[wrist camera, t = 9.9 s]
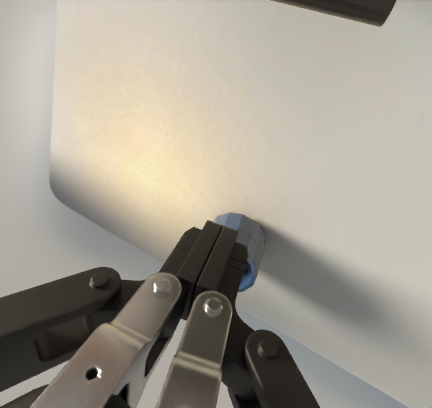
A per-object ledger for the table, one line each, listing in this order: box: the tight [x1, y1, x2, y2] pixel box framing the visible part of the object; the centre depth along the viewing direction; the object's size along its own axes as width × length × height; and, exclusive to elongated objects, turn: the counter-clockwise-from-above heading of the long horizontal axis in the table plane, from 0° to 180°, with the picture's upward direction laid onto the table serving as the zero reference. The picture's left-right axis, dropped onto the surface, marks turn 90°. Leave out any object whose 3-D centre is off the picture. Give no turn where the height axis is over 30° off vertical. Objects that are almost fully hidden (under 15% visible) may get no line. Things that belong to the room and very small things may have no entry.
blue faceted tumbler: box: [212, 213, 265, 292], centre depth 27 cm, size 6×6×6 cm
